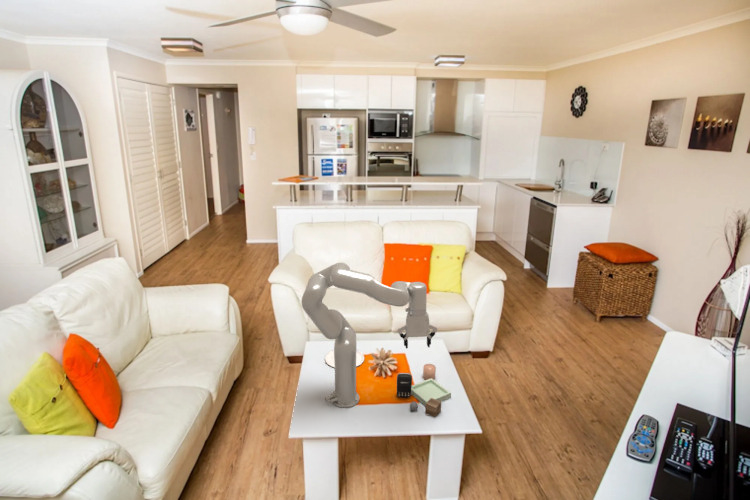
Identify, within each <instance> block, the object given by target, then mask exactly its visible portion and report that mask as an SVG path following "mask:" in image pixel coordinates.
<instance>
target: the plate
mask: <svg viewBox="0 0 750 500" xmlns="http://www.w3.org/2000/svg"><path fill="white" fill-rule="evenodd" d="M324 361H325V363H326V364H327V365H328V366H329V367H331V368H334V369H335V361H334V350H331V351H330V352H327V354H326V355H325V357H324ZM364 361H365V355H364V354H363V353H362V352H361V351H359V350H357V349H356V368H357V367H359V366H362V364H363V363H364Z"/></svg>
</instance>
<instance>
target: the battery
mask: <svg viewBox="0 0 750 500" xmlns="http://www.w3.org/2000/svg"><path fill="white" fill-rule="evenodd" d="M412 385H413V375H412V373H409V372H399V373H397V375H396V396H397V398H401V399H403V398H407V399H409V398H411V397H412V394H411V387H412Z"/></svg>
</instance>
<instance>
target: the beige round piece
mask: <svg viewBox="0 0 750 500" xmlns="http://www.w3.org/2000/svg"><path fill="white" fill-rule="evenodd" d="M422 367H423V368H422V370H423V371H422V378H423V381H425V380H428V379H431V378H432V379H433V380H434V381H436V372H437V369H436V368H437V367H436V365H435V364H433V363H425V364H423V366H422Z"/></svg>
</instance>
